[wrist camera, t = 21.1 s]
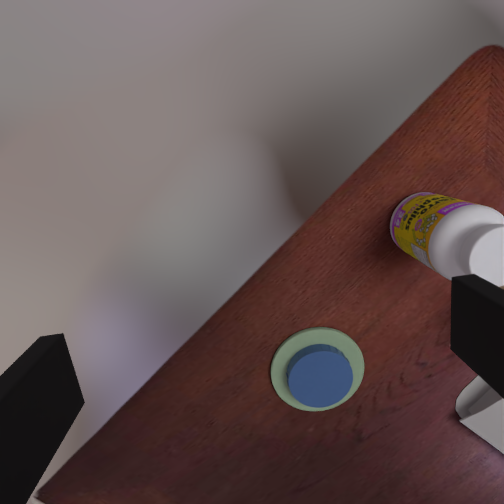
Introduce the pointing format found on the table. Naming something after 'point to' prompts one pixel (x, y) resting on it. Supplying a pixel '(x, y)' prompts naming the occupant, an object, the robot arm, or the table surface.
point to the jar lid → (319, 375)
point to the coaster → (306, 339)
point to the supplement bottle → (451, 235)
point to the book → (482, 412)
